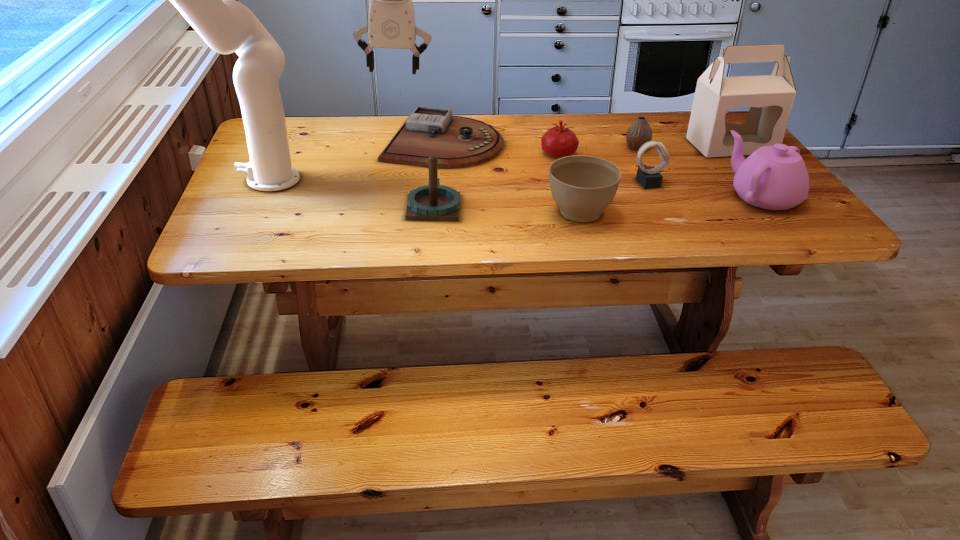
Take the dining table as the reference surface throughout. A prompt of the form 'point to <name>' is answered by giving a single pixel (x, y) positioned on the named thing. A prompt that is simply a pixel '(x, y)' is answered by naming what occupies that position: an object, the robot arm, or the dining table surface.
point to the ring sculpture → (651, 175)
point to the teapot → (770, 175)
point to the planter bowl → (583, 186)
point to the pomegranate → (559, 141)
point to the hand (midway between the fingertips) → (393, 71)
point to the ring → (434, 210)
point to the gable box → (742, 102)
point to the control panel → (442, 140)
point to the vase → (638, 133)
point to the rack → (433, 198)
